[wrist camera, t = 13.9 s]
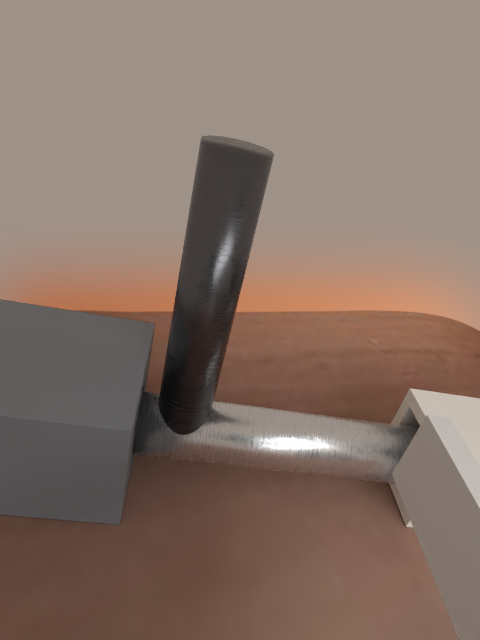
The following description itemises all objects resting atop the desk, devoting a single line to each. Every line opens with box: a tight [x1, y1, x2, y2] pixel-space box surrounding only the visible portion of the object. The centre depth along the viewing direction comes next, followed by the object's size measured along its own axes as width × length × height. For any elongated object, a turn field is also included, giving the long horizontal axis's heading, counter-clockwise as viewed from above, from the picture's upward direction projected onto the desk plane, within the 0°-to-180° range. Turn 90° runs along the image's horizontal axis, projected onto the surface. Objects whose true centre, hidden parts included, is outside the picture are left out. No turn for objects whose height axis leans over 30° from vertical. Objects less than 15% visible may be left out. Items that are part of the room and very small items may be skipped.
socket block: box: [0, 299, 155, 525], centre depth 25 cm, size 10×9×7 cm
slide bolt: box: [132, 136, 419, 484], centre depth 23 cm, size 26×4×18 cm, turn 92°
